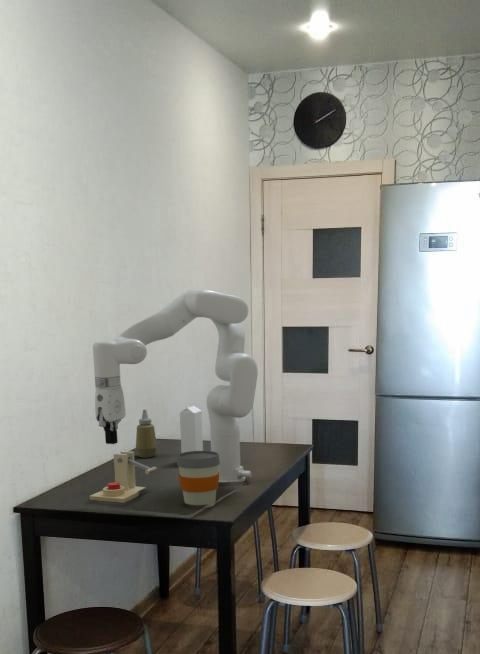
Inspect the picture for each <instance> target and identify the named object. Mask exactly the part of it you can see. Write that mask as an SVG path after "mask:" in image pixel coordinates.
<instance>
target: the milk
mask: <svg viewBox="0 0 480 654" xmlns="http://www.w3.org/2000/svg"><path fill="white" fill-rule="evenodd" d="M202 413H203V412H202V410H201V409H200V408H199V407H197V406H195V401H191V402H188V403H187V404H186V408H184V409H183V410H182V411H180V412H179V425H180V426H179V430H180V450H181V452H180V454H181V453H184V452H190V451H204V442H203V441H204V440H203V439H204V438H203V437H204V435H203V414H202Z"/></svg>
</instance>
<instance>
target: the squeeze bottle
mask: <svg viewBox="0 0 480 654" xmlns="http://www.w3.org/2000/svg"><path fill="white" fill-rule="evenodd" d="M135 449H136V453H137V455H138V457H139V458H144V459H145V458H146V459H147V458H148V459H149V458H153V457H155V455H156V452H157V449H158V444H157V437H156V429H155V425H154V424H152V418H149V415H148V411H147V409H143V410H142V415H141V418H140V419H138V425H137V426H136V437H135Z"/></svg>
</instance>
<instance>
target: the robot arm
mask: <svg viewBox="0 0 480 654" xmlns="http://www.w3.org/2000/svg"><path fill="white" fill-rule="evenodd" d="M248 314H249V305H248V303H247V301H246V300H245V299H243V297H242V296H241V297H240V296H238V295H235V294H234V295H232V294H227V293H223V292H220V291H213V290H209V289H204V288H203V289H188V290H185V291H183V292H182V293H181V294H179V295H178V296H177V297H175V298H174V299H173V300H172V301H169V303H168V304H166V305H165V306H163V307H162V308H161V309H160V310H158V311H157V312H155V313H153V314H151V315H150V316H147V317H146V318H144V319H142V320H140V321H138V322H136V323H134V324H132V325H131V326H130V327H128V328H126V329H125V330H123V331H122V332H121V333H120V334H118V335H117V336H116V337H115V338H114V339H113V340H98V341H94V343H93V344H92V356H93V370H94V372H93V373H94V388H95V394H94V413H95V420H96V421H97V422H98V427H101V428H102V429H103V432H104V438H105V440H104V441H105V444H107V445H116V444H118V442H119V441H118V429H119V423H120V422H122V420H123V419H124V418H125V417H126V415H127V414H126V413H127V411H126V404H125V395H124V390H123V387H122V385H121V384H122V382H121V365H137V364H140V363H142V362H143V361H144V360H145V359H146V357H147V355H148V349H147V345H149V344H151V343H153V342H154V343H155V342H158V341H162V340H166V339H169V338H171V337H173V336H174V335H175V334H177V333H178V332H180V331H181V330H182V329H184V328H185V327H186V326H188V325H189V324H190V323H191V322H192V321H194V320H195V319H197V318H204V319H210V320H211V322H212V323H213V324H214V326H215V327H216V329H217V333H218V343H217V344H218V345H217V351H216V359H215V367H214V372H215V375H216V377H217V378H218V379H219V380H222V381H225V382H228V383H229V385H226V384H219V385H216V386H213V387H212V388H211V389H210V390H209V391H208V393H207V396H206V407H207V412H208V418H209V429H210V430H209V431H210V451H213V452H217V453H218V454H219V460H220V464H219V468H218V472H219V483H234V482H237V483H244V482H245V481H246V478H249V479H251V478H252V475H253V473H252V471H251V470H245V469H244V466H243V465H241V439H240V435H241V433H240V432H241V431H240V421H239V420H238V419H241V418H244V417H246V416H248V415H249V413H250V412H251V410H252V408H253V405H254V403H255V397H256V396H255V395H256V387H257V382H258V373H259V369H258V365H257V362H256V360H255V358H254V357H253V356H252V355H251V354H248V353H245V347H246V346H245V344H246V332H245V328H244V326H243V322H244V321H245V320H246V319H247V317H248Z"/></svg>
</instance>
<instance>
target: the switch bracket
mask: <svg viewBox="0 0 480 654" xmlns="http://www.w3.org/2000/svg"><path fill="white" fill-rule="evenodd" d="M122 453H124V454H122ZM127 455H129V456H130V459H131V460H134V461H135V451H126V450H120V452H119V453H113V466H114V467H113V468H114V469H113V470H114V482H118V483H120V486H124V487H125V491H135V492H140V491H142V490H145V489H147V487H146V486H137V485H136V484H137V481H136V466H135V465H133V464H130V463H128V456H127Z"/></svg>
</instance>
